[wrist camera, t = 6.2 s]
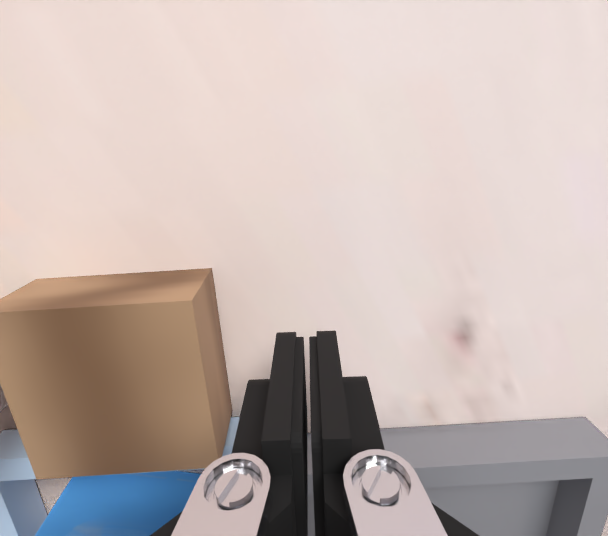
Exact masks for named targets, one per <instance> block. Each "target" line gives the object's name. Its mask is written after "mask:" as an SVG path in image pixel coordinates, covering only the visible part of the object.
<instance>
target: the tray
mask: <svg viewBox="0 0 608 536" xmlns="http://www.w3.org/2000/svg"><path fill="white" fill-rule="evenodd" d="M380 432H381V436H382V441H383V445H384V449H385V451H390V452H393V453H395V454H397V455H399V456H401V457H402V458H403V459H405V460H406V461H407V462H408V463H409V464H410V465H411V466H412V468H413V469H414V470H415V472H416V473H417V475H418V477H419V479H420V481H421V483H422V485H423V487H424V489H425V491H426V493H427V495H428V497H429V499H430V501H431V503H433V504H434V505H436V506H437V507H439V508H440V509H441V510H443V511H444V512H446V513H447V514H449V515H450V516H452V517H453V518H455V519H456V520H457V521H459V522H460V523H462V524H463V525H465V526H466V527H468V528H469V529H471V530H472V531H473V532H475V533H476V534H478V535H479V536H601V535H602V532H603V528H604V525H605V522H606V519H607V515H608V438H607V437H606V436H605V435H604V434H603V433H602V432H601V431H599V430H598V429H597V428H596V427H595V426H594V425H593V424H592V423H591V422H590V421H589V420H588V419H587V418H586V417H577V418H560V419H542V420H525V421H508V422H490V423H473V424H456V425H438V426H421V427H404V428H386V429H380ZM307 467H308V536H315V520H314V497H313V473H312V450H311V433H307Z"/></svg>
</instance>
